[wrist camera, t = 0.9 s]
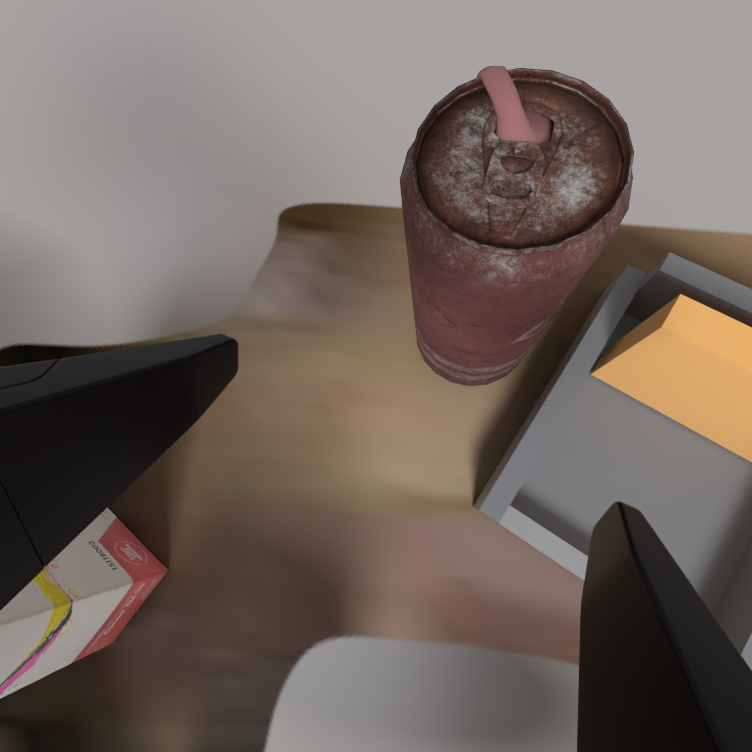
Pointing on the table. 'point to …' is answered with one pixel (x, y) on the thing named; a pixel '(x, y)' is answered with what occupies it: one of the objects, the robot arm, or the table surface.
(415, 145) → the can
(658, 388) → the wedge
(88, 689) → the table surface
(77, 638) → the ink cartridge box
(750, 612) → the grey shallow open box
